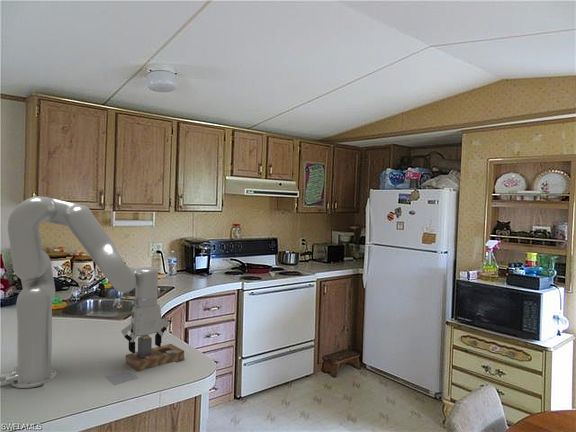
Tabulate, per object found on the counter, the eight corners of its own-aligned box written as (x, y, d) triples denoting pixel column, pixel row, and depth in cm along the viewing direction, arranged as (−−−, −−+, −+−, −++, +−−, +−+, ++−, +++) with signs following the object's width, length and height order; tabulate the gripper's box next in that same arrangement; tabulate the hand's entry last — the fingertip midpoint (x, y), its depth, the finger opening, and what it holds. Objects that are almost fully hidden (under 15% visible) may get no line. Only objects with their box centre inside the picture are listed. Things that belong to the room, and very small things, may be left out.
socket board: (137, 373, 138) (138, 361, 138) (125, 364, 145) (125, 353, 145) (184, 359, 151) (184, 349, 151) (170, 352, 158) (170, 342, 158)
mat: (114, 386, 128) (114, 385, 128) (104, 378, 133) (104, 376, 133) (138, 379, 133) (138, 377, 133) (128, 372, 139) (128, 370, 139)
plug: (141, 368, 143) (142, 338, 142) (137, 365, 145) (138, 335, 145) (151, 365, 145) (151, 335, 145) (146, 362, 148) (147, 333, 147)
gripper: (127, 308, 136) (126, 357, 136) (173, 300, 148) (172, 346, 149) (118, 303, 141) (117, 351, 142) (163, 296, 153) (162, 340, 154)
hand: (145, 348), depth 145 cm, fingers open, 9 cm apart
